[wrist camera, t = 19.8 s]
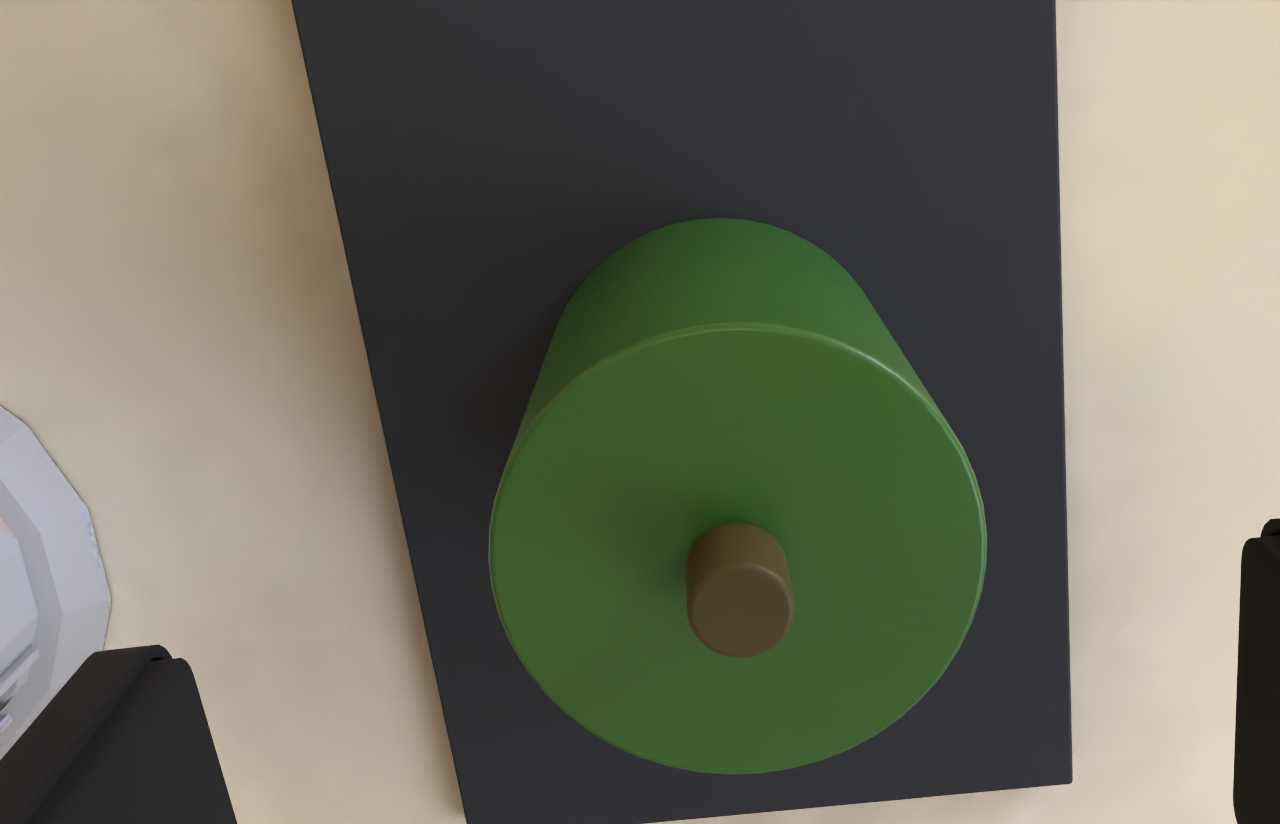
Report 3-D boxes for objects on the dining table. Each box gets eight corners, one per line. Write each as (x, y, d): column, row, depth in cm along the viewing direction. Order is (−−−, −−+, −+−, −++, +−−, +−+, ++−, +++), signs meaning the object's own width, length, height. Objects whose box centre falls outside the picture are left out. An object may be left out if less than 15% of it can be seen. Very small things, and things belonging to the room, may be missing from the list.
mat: (474, 822, 25) (469, 841, 24) (246, -259, 19) (232, -267, 18) (1064, 766, 24) (1073, 784, 24) (1036, -385, 18) (1048, -398, 17)
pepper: (573, 561, 22) (518, 860, 15) (520, 240, 20) (425, 388, 13) (900, 525, 22) (1024, 814, 14) (877, 194, 20) (1005, 319, 12)
